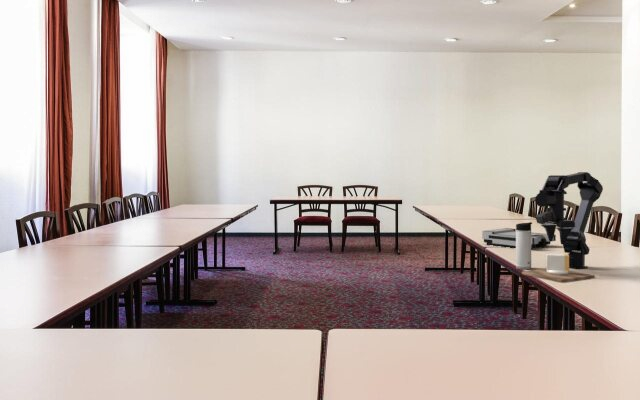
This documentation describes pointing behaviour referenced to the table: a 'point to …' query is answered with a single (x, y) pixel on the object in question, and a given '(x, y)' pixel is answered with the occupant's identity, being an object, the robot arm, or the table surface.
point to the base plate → (558, 278)
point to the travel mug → (523, 246)
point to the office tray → (512, 238)
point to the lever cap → (557, 264)
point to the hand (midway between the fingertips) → (556, 242)
